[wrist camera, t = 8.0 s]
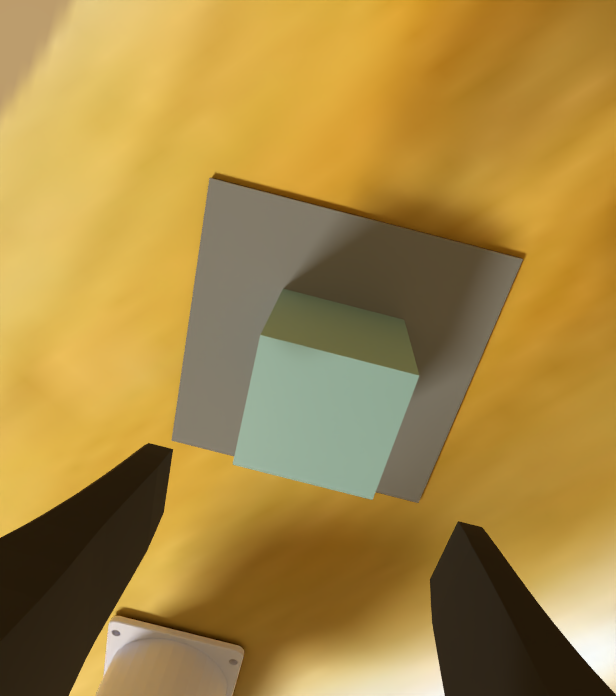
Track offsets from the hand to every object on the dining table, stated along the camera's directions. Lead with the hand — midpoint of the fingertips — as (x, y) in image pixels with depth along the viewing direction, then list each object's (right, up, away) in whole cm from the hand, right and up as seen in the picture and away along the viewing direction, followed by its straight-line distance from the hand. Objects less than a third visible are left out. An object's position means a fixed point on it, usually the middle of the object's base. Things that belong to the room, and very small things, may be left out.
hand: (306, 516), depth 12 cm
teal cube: (+1, +4, +8) cm, 9 cm away
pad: (+1, +4, +9) cm, 9 cm away
